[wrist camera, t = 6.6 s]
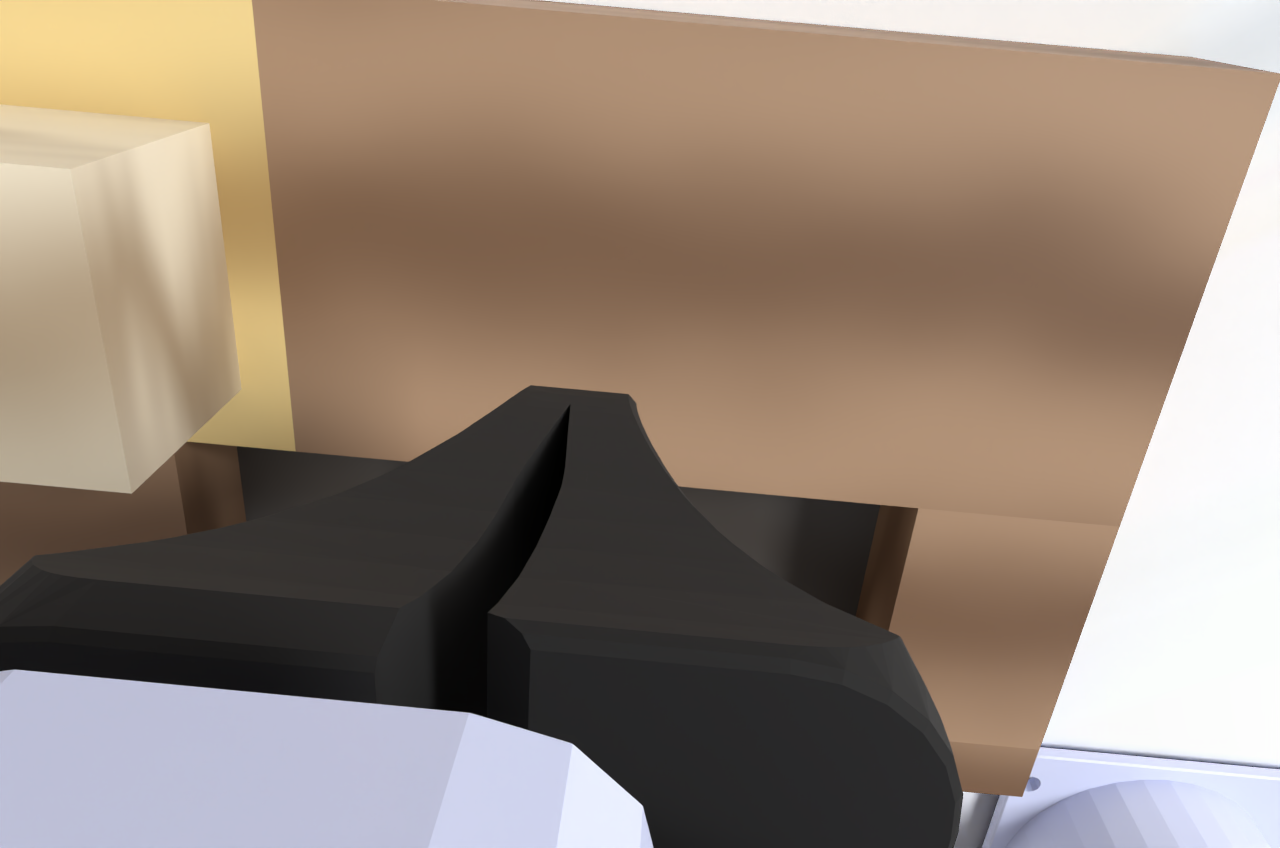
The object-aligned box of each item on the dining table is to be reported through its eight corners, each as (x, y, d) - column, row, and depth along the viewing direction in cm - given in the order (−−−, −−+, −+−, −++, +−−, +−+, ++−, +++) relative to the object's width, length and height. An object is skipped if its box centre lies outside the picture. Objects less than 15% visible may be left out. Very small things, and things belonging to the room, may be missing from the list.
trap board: (986, 706, 25) (1022, 797, 22) (81, 621, 25) (7, 701, 22) (1191, 57, 18) (1281, 74, 15) (-76, -53, 18) (-213, -57, 15)
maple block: (242, 389, 18) (131, 493, 15) (-13, 366, 18) (-185, 464, 15) (209, 122, 16) (70, 169, 12) (-81, 97, 16) (-303, 135, 12)
